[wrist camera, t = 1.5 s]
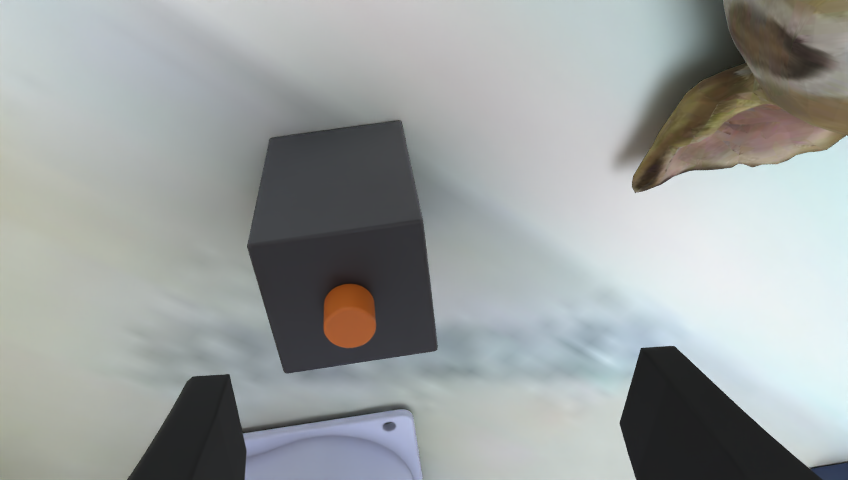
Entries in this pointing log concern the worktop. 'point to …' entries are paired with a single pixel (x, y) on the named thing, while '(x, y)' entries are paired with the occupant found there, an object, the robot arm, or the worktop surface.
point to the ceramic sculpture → (761, 93)
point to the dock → (832, 472)
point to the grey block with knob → (342, 248)
